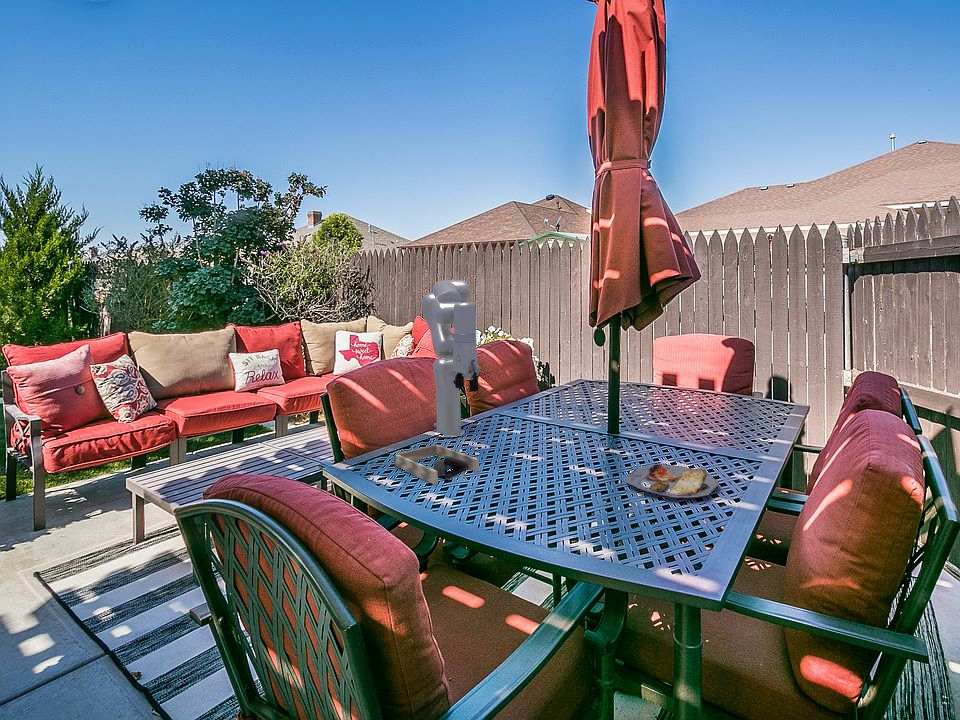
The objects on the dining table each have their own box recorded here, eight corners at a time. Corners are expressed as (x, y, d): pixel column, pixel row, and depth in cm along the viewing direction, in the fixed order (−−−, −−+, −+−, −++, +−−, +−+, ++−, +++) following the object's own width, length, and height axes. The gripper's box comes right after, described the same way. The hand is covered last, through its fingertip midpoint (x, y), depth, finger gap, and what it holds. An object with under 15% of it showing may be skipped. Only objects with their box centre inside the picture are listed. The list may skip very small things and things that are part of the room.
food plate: (647, 465, 163) (648, 454, 162) (726, 481, 148) (727, 469, 147) (614, 491, 143) (614, 479, 143) (700, 512, 129) (701, 499, 128)
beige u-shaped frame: (394, 466, 167) (394, 454, 167) (437, 455, 178) (436, 444, 178) (435, 484, 150) (434, 471, 149) (479, 471, 161) (478, 459, 160)
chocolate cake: (455, 467, 167) (431, 447, 161) (471, 465, 163) (447, 445, 157) (446, 493, 161) (421, 474, 155) (463, 492, 157) (438, 472, 151)
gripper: (443, 339, 177) (445, 387, 179) (468, 341, 163) (469, 394, 164) (462, 337, 181) (463, 385, 183) (488, 340, 166) (489, 391, 168)
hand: (466, 389), depth 174 cm, fingers open, 9 cm apart
